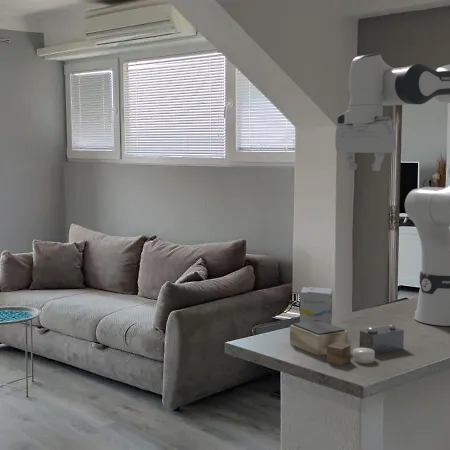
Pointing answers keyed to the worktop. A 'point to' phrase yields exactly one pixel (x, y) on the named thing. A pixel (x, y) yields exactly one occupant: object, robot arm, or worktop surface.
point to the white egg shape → (363, 355)
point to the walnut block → (338, 353)
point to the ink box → (316, 304)
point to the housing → (382, 339)
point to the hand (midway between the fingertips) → (364, 170)
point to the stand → (316, 336)
